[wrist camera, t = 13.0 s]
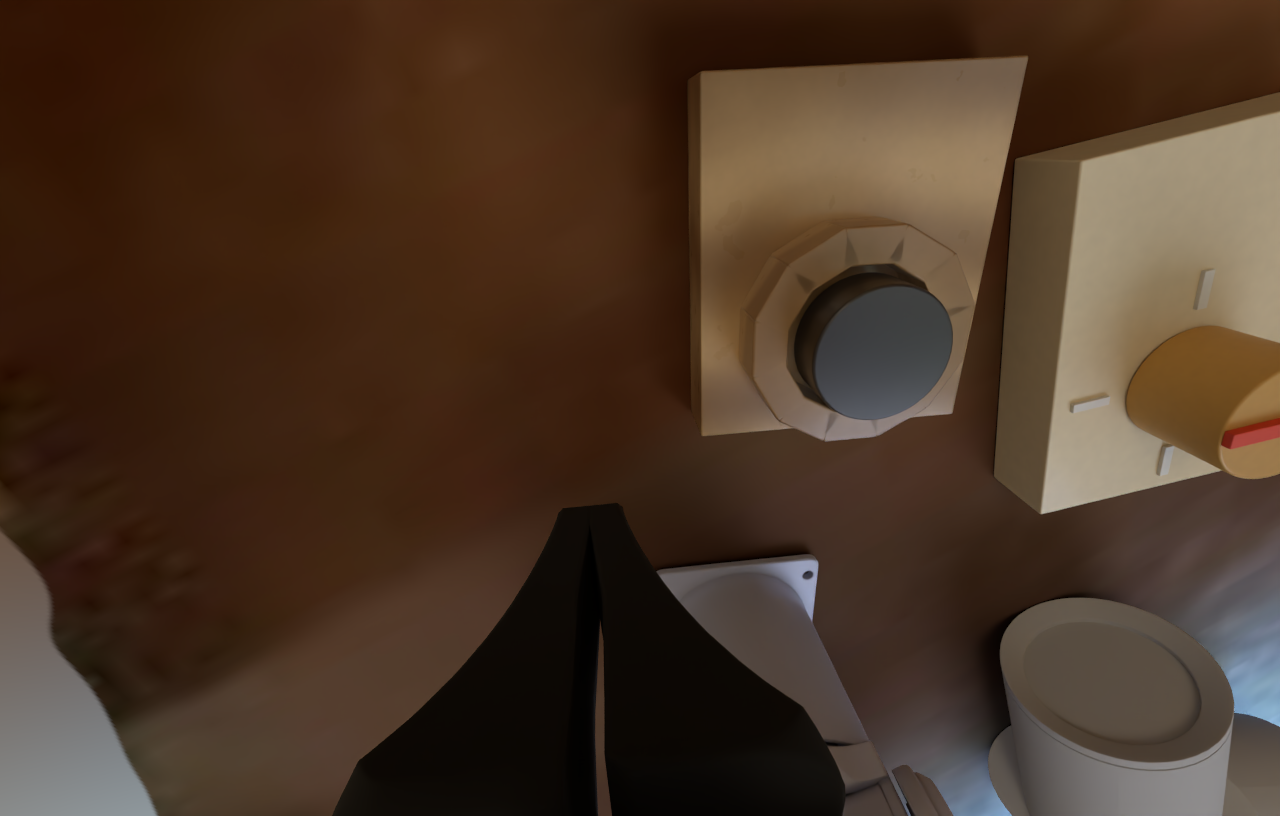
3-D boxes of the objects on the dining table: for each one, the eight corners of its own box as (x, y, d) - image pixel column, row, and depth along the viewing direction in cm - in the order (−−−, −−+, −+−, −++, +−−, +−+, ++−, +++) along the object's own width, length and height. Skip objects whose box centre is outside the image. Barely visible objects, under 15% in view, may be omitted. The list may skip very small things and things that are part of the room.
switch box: (921, 392, 24) (982, 436, 20) (691, 412, 23) (710, 461, 19) (982, 64, 19) (1078, 45, 15) (686, 79, 18) (712, 62, 14)
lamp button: (911, 393, 19) (940, 415, 18) (788, 403, 19) (807, 427, 18) (933, 266, 18) (967, 278, 16) (798, 276, 17) (819, 289, 16)
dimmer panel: (1202, 425, 26) (1278, 460, 23) (992, 477, 26) (1043, 517, 23) (1287, 89, 20) (1406, 80, 17) (1013, 158, 20) (1085, 160, 17)
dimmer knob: (1254, 311, 20) (1392, 345, 17) (1225, 417, 22) (1344, 466, 19) (1134, 341, 20) (1248, 381, 17) (1116, 443, 22) (1215, 498, 19)
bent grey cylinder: (894, 815, 35) (1165, 807, 38) (1026, 1033, 25) (1384, 1000, 28) (954, 558, 32) (1248, 569, 34) (1137, 689, 21) (1536, 690, 24)
